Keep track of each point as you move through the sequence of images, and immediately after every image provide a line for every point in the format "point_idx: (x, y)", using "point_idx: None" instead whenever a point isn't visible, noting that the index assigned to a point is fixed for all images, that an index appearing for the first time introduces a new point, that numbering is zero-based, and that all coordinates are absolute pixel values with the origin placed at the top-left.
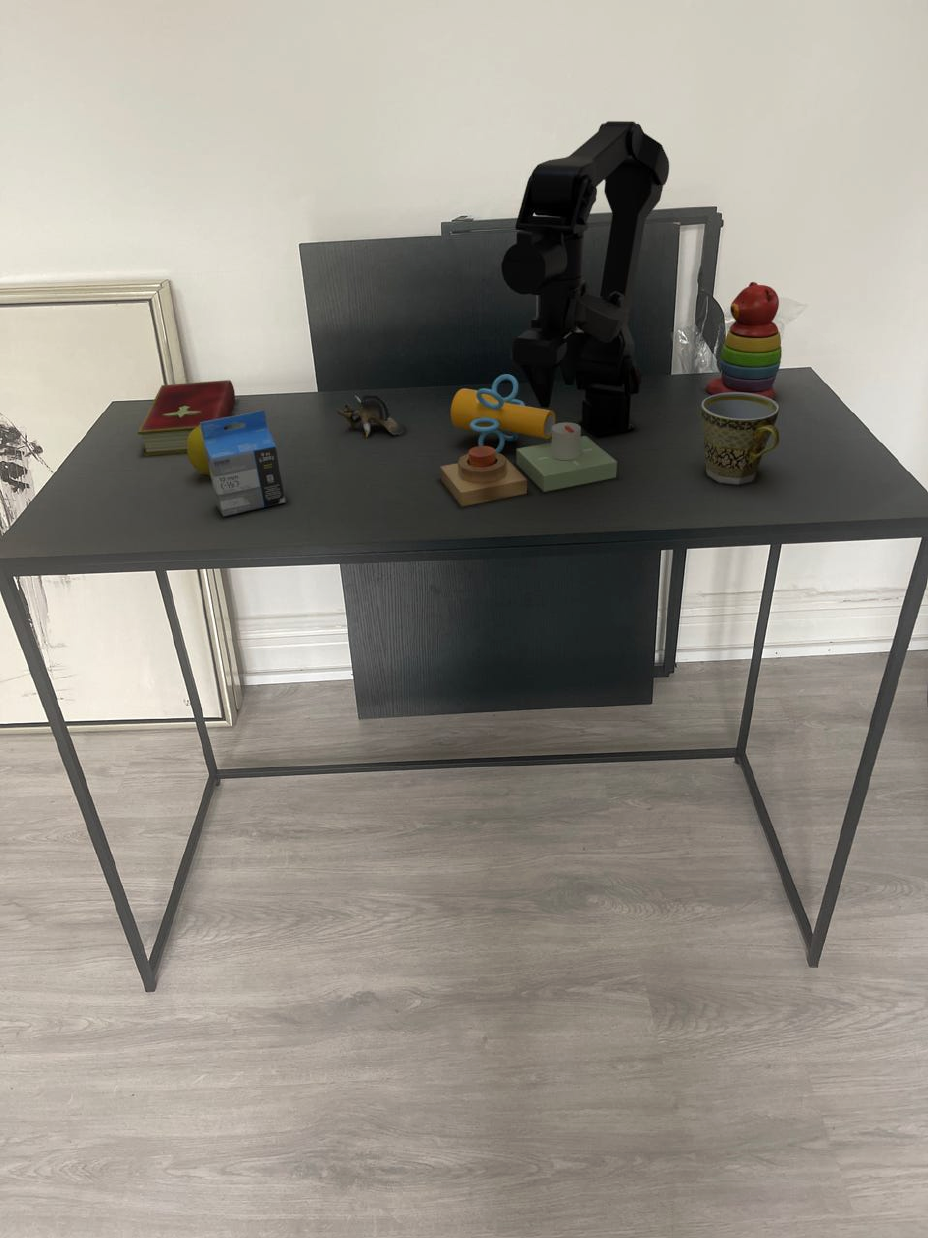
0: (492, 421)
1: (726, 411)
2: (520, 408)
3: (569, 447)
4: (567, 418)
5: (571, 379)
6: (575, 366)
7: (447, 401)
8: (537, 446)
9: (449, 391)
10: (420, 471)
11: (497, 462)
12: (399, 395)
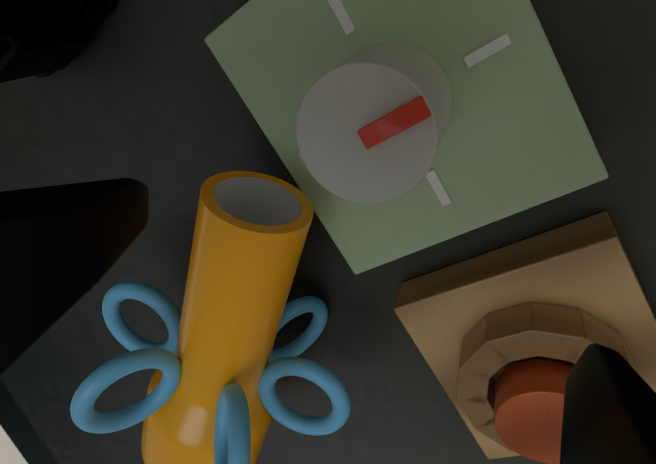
0: (278, 378)
1: None
2: (226, 326)
3: (442, 97)
4: (32, 117)
5: (121, 203)
6: (33, 221)
7: (66, 385)
8: (328, 210)
9: (23, 379)
10: (432, 456)
11: (567, 359)
12: (78, 456)
